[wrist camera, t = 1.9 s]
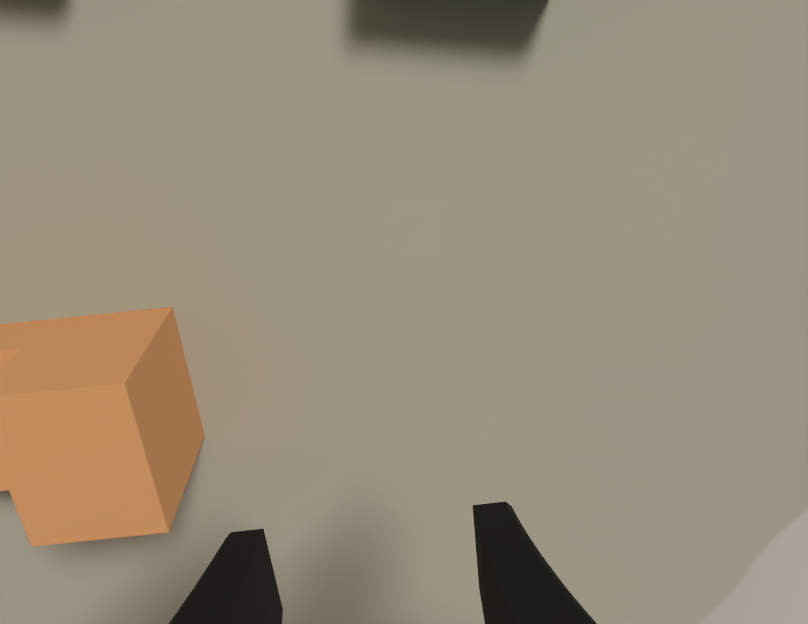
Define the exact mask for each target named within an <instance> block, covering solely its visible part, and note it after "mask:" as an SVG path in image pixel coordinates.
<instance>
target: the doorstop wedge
mask: <svg viewBox="0 0 808 624" xmlns="http://www.w3.org/2000/svg"><path fill="white" fill-rule="evenodd" d="M204 436H205V435H204V431H203V427H202V423H201V420H200V416H199V412H198V408H197V404H196V400H195V396H194V392H193V388H192V384H191V380H190V376H189V372H188V368H187V364H186V360H185V356H184V352H183V348H182V344H181V340H180V336H179V332H178V328H177V324H176V320H175V316H174V312H173V308H172V307H167V308H157V309H147V310H137V311H127V312H118V313H108V314H98V315H88V316H78V317H68V318H58V319H49V320H39V321H29V322H19V323H9V324H0V491H7V490H9V492H10V494H11V497H12V499H13V501H14V504H15V506H16V509H17V511H18V514H19V516H20V519H21V521H22V524H23V526H24V529H25V531H26V534H27V536H28V539H29V541H30V544H31V546H42V545H51V544H61V543H71V542H81V541H91V540H100V539H110V538H120V537H130V536H140V535H149V534H159V533H169V530H170V528H171V525H172V522H173V520H174V517H175V514H176V512H177V509H178V506H179V504H180V501H181V498H182V495H183V493H184V490H185V487H186V485H187V482H188V479H189V477H190V474H191V471H192V469H193V466H194V463H195V461H196V458H197V455H198V452H199V450H200V447H201V444H202V442H203V439H204Z"/></svg>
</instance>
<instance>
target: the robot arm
mask: <svg viewBox="0 0 808 624" xmlns="http://www.w3.org/2000/svg"><path fill="white" fill-rule="evenodd" d="M473 514H474V527H475V539H476V552H477V564H478V577H479V589H480V595H481V601H482V607H483V614H484V620H485V624H597V623H596V622H595V621H594V620H593V619H592V618H591V617H590V615H589V614H588V613H587V612H586V611H585V610H584V609H583V607H582V606H581V605H580V604H579V603H578V602H577V600H576V599H575V598H574V597H573V596H572V594H571V593H570V592H569V591H568V589H567V588H566V587H565V586H564V584H563V583H562V582H561V580H560V579H559V578H558V576H557V575H556V574H555V573H554V571H553V570H552V569H551V567H550V566H549V565H548V563H547V562H546V561H545V559H544V558H543V556H542V555H541V554H540V552H539V551H538V549H537V548H536V546H535V545H534V543H533V542H532V540H531V539H530V537H529V536H528V534H527V533H526V531H525V530H524V528H523V526H522V525H521V523H520V521H519V519H518V518H517V516H516V514H515V512H514V510H513V508H512V506H511V505H509V504H508V503H507V502H499V503H490V504H481V505H473ZM282 612H283V609H282V605H281V601H280V596H279V592H278V588H277V584H276V580H275V575H274V571H273V567H272V563H271V559H270V555H269V550H268V546H267V542H266V538H265V534H264V529H257V530H248V531H240V532H231V533H230V534H229V535H228V536H227V538H226V539H225V541H224V542H223V544H222V545H221V547H220V548H219V550H218V552H217V553H216V555H215V556H214V558H213V560H212V561H211V563H210V564H209V566H208V567H207V569H206V570H205V572H204V573H203V575H202V577H201V578H200V580H199V581H198V583H197V584H196V586H195V587H194V589H193V590H192V592H191V593H190V594H189V596H188V597H187V599H186V600H185V602H184V603H183V604H182V606H181V607H180V609H179V610H178V612H177V613H176V614H175V616H174V617H173V619H172V620H171V622H170V623H169V624H282Z"/></svg>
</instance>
